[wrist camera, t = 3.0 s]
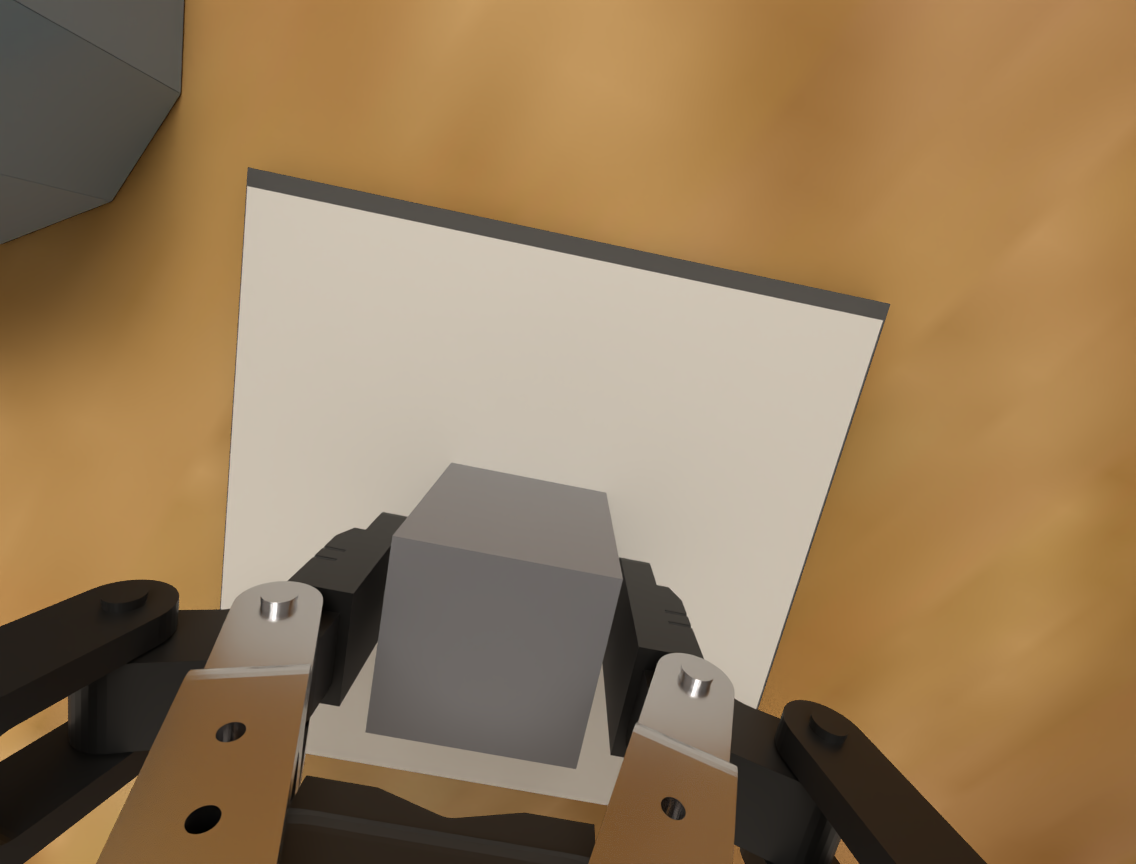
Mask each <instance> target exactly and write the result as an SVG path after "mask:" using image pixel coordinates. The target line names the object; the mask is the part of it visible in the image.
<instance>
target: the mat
mask: <svg viewBox="0 0 1136 864" xmlns="http://www.w3.org/2000/svg"><path fill="white" fill-rule="evenodd" d="M247 186H249V187H254V188H259V189H263V190H268V191H273V192H278V193H282V194H287V195H292V196H296V197H301V198H306V199H311V200H315V201H320V202H325V203H330V204H334V205H339V206H344V207H349V208H353V209H358V210H363V211H367V212H372V213H377V214H382V215H386V216H391V217H396V218H401V219H405V220H410V221H415V222H420V223H424V224H429V225H434V226H438V227H443V228H448V229H453V230H457V231H462V232H467V233H472V234H476V235H481V236H486V237H491V238H495V239H500V240H505V241H509V242H514V243H519V244H524V245H528V246H533V247H538V248H543V249H547V250H552V251H557V252H561V253H566V254H571V255H576V256H580V257H585V258H590V259H595V260H599V261H604V262H609V263H614V264H618V265H623V266H628V267H632V268H637V269H642V270H647V271H651V272H656V273H661V274H666V275H670V276H675V277H680V278H685V279H689V280H694V281H699V282H703V283H708V284H713V285H718V286H722V287H727V288H732V289H737V290H741V291H746V292H751V293H756V294H760V295H765V296H770V297H774V298H779V299H784V300H789V301H793V302H798V303H803V304H808V305H812V306H817V307H822V308H827V309H831V310H836V311H841V312H845V313H850V314H855V315H860V316H864V317H869V318H874V319H879V320H883V322H882V325H881V328H880V331H879V334H878V337H877V341H876V344H875V347H874V350H873V353H872V356H871V359H870V362H869V365H868V368H867V371H866V374H865V377H864V380H863V383H862V386H861V390H860V393H859V396H858V399H857V402H856V405H855V408H854V411H853V414H852V417H851V420H850V423H849V426H848V429H847V432H846V435H845V439H844V442H843V445H842V448H841V451H840V454H839V457H838V460H837V463H836V466H835V469H834V472H833V475H832V478H831V481H830V484H829V488H828V491H827V494H826V497H825V500H824V503H823V506H822V509H821V512H820V515H819V518H818V521H817V524H816V527H815V530H814V533H813V537H812V540H811V543H810V546H809V549H808V552H807V555H806V558H805V561H804V564H803V567H802V570H801V573H800V576H799V579H798V582H797V586H796V589H795V592H794V595H793V598H792V601H791V604H790V607H789V610H788V613H787V616H786V619H785V622H784V625H783V628H782V631H781V635H780V638H779V641H778V644H777V647H776V650H775V653H774V656H773V659H772V662H771V665H770V668H769V671H768V674H767V677H766V680H765V684H764V687H763V690H762V693H761V696H760V699H759V702H758V705H757V708H756V709H757V710H758V707H759V704H760V701H761V698H762V695H763V692H764V689H765V686H766V682H767V679H768V676H769V673H770V670H771V667H772V664H773V661H774V658H775V655H776V652H777V649H778V646H779V643H780V640H781V637H782V634H783V631H784V627H785V624H786V621H787V618H788V615H789V612H790V609H791V606H792V603H793V600H794V597H795V594H796V591H797V588H798V585H799V582H800V579H801V576H802V572H803V569H804V566H805V563H806V560H807V557H808V554H809V551H810V548H811V545H812V542H813V539H814V536H815V533H816V530H817V527H818V524H819V521H820V517H821V514H822V511H823V508H824V505H825V502H826V499H827V496H828V493H829V490H830V487H831V484H832V481H833V478H834V475H835V472H836V469H837V466H838V462H839V459H840V456H841V453H842V450H843V447H844V444H845V441H846V438H847V435H848V432H849V429H850V426H851V423H852V420H853V417H854V414H855V411H856V407H857V404H858V401H859V398H860V395H861V392H862V389H863V386H864V383H865V380H866V377H867V374H868V371H869V368H870V365H871V362H872V359H873V356H874V352H875V349H876V346H877V343H878V340H879V337H880V334H881V331H882V328H883V325H884V322H885V319H886V316H887V313H888V310H889V307H890V304H888V303H883V302H879V301H874V300H869V299H865V298H860V297H855V296H850V295H846V294H841V293H836V292H832V291H827V290H822V289H818V288H813V287H808V286H803V285H799V284H794V283H789V282H785V281H780V280H775V279H770V278H766V277H761V276H756V275H752V274H747V273H742V272H738V271H733V270H728V269H723V268H719V267H714V266H709V265H705V264H700V263H695V262H691V261H686V260H681V259H676V258H672V257H667V256H662V255H658V254H653V253H648V252H643V251H639V250H634V249H629V248H625V247H620V246H615V245H611V244H606V243H601V242H596V241H592V240H587V239H582V238H578V237H573V236H568V235H564V234H559V233H554V232H549V231H545V230H540V229H535V228H531V227H526V226H521V225H516V224H512V223H507V222H502V221H498V220H493V219H488V218H484V217H479V216H474V215H469V214H465V213H460V212H455V211H451V210H446V209H441V208H437V207H432V206H427V205H422V204H418V203H413V202H408V201H404V200H399V199H394V198H389V197H385V196H380V195H375V194H371V193H366V192H361V191H357V190H352V189H347V188H342V187H338V186H333V185H328V184H324V183H319V182H314V181H310V180H305V179H300V178H295V177H291V176H286V175H281V174H277V173H272V172H267V171H263V170H258V169H253V168H248V172H247ZM246 200H247V188H246ZM245 216H246V204H245ZM244 232H245V220H244ZM243 247H244V236H243ZM242 263H243V252H242ZM241 279H242V268H241ZM240 295H241V284H240ZM239 311H240V300H239ZM238 327H239V316H238ZM237 343H238V331H237ZM236 358H237V347H236ZM235 374H236V363H235ZM234 390H235V379H234ZM233 406H234V395H233ZM232 422H233V411H232ZM231 438H232V427H231ZM230 454H231V443H230ZM229 470H230V459H229ZM228 485H229V475H228ZM227 501H228V491H227ZM226 517H227V507H226ZM225 533H226V523H225ZM224 549H225V539H224ZM223 565H224V555H223ZM222 581H223V571H222ZM221 596H222V587H221ZM220 609H221V602H220Z"/></svg>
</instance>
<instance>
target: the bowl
mask: <svg viewBox="0 0 1136 864" xmlns="http://www.w3.org/2000/svg"><path fill="white" fill-rule="evenodd" d="M183 15H184V0H0V244H3V243H5V242H8V241H10V240H13V239H16V238H18V237H21V236H23V235H26V234H28V233H31V232H34V231H36V230H39V229H41V228H44V227H46V226H49V225H52V224H54V223H57V222H59V221H62V220H64V219H67V218H70V217H72V216H75V215H77V214H80V213H83V212H85V211H88V210H90V209H93V208H95V207H98V206H101V205H103V204H106V203H108V202H111V201H112V200H113V198H114V197H115V195H116V194H117V192H118V191H119V189H120V187H121V186H122V184H123V183H124V181H125V180H126V178H127V177H128V175H129V173H130V172H131V170H132V169H133V167H134V166H135V164H136V163H137V161H138V159H139V158H140V156H141V155H142V153H143V152H144V150H145V148H146V147H147V145H148V144H149V142H150V141H151V139H152V138H153V136H154V134H155V133H156V131H157V130H158V128H159V127H160V125H161V124H162V122H163V120H164V119H165V117H166V116H167V114H168V113H169V111H170V109H171V108H172V106H173V105H174V103H175V102H176V100H177V99H178V97H179V95H180V93H181V71H182V43H183Z"/></svg>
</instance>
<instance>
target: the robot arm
mask: <svg viewBox="0 0 1136 864" xmlns="http://www.w3.org/2000/svg"><path fill="white" fill-rule="evenodd" d="M406 518H407V516H402V515H397V514H391V513H386V512H382V513H381V514H380V515H379V516H378V517H377V518H376V519H375V520H374V521H373V522H372V523H371V524H370V525H369V527H368V528H367V529H366V530H365V529H360V528H352V529H350V530H347V531H345V532H342V533H340V534H337V535H336V536H334V537H333V538H332V539H331V540H330V541H329V542H328V543H327V544H326V545H325V546H324V548H322V549H321V550H320V551H319V552H318V553H316V554H315V557H312V558H311V559H310V560H309V561H308V562H307V563H306V564H305V565H304V566H303V567H302V568H301V569H299V570H298V571H297V572H296V573H295V574H294V575H293V576H292V577H291V578H290V579H289V580H288V581H277V582H269V583H264V584H261V585H257V586H254V587H252V588H249V589H248V590H246V591H244V592H242V593H241V594H240V595H238V596H237V597H236V599H235V600H234V602H233V604H232V606H231V608H230V609H220V610H178V609H179V593H178V591H177V589H176V588H174V587H173V586H172V585H169V584H167V583H164V582H160V581H155V580H127V581H120V582H115V583H110V584H106V585H103V586H99V587H97V588H94V589H91V590H89V591H86V592H84V593H81V594H79V595H76V596H74V597H72V598H69V599H67V600H64V601H62V602H59V603H57V604H54V605H52V606H49V607H47V608H45V609H42V610H40V611H37V612H35V613H32V614H30V615H27V616H25V617H23V618H20V619H18V620H15V621H13V622H10V623H8V624H5V625H3V626H1V627H0V736H1V735H2V734H4V733H5V732H7V731H8V730H9V729H11V728H13V727H14V726H16V725H18V724H19V723H21V722H23V721H25V720H27V719H28V718H30V717H32V716H34V715H35V714H37V713H39V712H41V711H43V710H44V709H46V708H48V707H50V706H51V705H53V704H55V703H57V702H59V701H60V700H62V699H64V698H66V697H67V696H68V721H67V722H66V723H64V724H62V725H61V726H59V727H57V728H56V729H54V730H52V731H51V732H49V733H47V734H46V735H44V736H42V737H41V738H39V739H37V740H36V741H34V742H32V743H31V744H29V745H28V746H26V747H24V748H23V749H21V750H19V751H18V752H16V753H14V754H13V755H11V756H9V757H8V758H6V759H4V760H3V761H1V762H0V864H23V863H25V862H26V861H27V860H29V859H30V858H31V857H33V856H34V855H35V854H36V853H38V852H39V851H40V850H42V849H43V848H44V847H45V846H47V845H48V844H49V843H51V842H52V841H53V840H55V839H56V838H57V837H58V836H60V835H61V834H62V833H64V832H65V831H66V830H68V829H69V828H70V827H71V826H73V825H74V824H75V823H77V822H78V821H79V820H80V819H82V818H83V817H84V816H86V815H87V814H88V813H90V812H91V811H92V810H93V809H95V808H96V807H97V806H99V805H100V804H101V803H103V802H104V801H105V800H106V799H108V798H109V797H110V796H112V795H113V794H114V793H115V792H117V791H118V790H119V789H121V788H122V787H123V786H125V785H126V784H127V783H128V782H130V781H131V780H132V779H134V778H135V777H136V776H137V775H138V777H137V779H136V781H135V783H134V785H133V787H132V789H131V791H130V793H129V796H128V798H127V800H126V802H125V804H124V806H123V808H122V810H121V812H120V814H119V817H118V819H117V821H116V823H115V825H114V827H113V829H112V831H111V833H110V835H109V838H108V840H107V842H106V844H105V846H104V848H103V850H102V852H101V854H100V857H99V859H98V861H97V863H96V864H733V854H734V845H737V846H739V847H740V852H741V855H742V858H743V860H744V863H745V864H840V863H839V862H838V860H837V859H836V857H835V856H834V855H835V852H836V850H837V847H838V845H839V842H840V840H841V839H842V840H843V842H844V843H845V844H846V846H847V847H848V849H849V850H850V851H851V853H852V854H853V855H854V857H855V858H856V860H857V861H858V862H859V864H987V863H986V862H985V861H984V860H983V859H982V858H981V857H980V856H979V855H978V854H977V853H976V852H975V851H974V850H973V848H972V847H971V846H970V845H969V844H968V843H967V842H966V841H965V840H964V839H963V838H962V837H961V836H960V835H959V834H958V833H957V832H956V831H955V829H954V828H953V827H952V826H951V825H950V824H949V823H948V822H947V821H946V820H945V819H944V818H943V817H942V816H941V815H940V814H939V813H938V812H937V811H936V809H935V808H934V807H933V806H932V805H931V804H930V803H929V802H928V801H927V800H926V799H925V798H924V797H923V796H922V795H921V794H920V793H919V792H918V790H917V789H916V788H915V787H914V786H913V785H912V784H911V783H910V782H909V781H908V780H907V779H906V778H905V777H904V776H903V775H902V774H901V773H900V771H899V770H898V769H897V768H896V767H895V766H894V765H893V764H892V763H891V762H890V761H889V760H888V759H887V758H886V757H885V756H884V755H883V754H882V753H881V751H880V750H879V749H878V748H877V747H876V746H875V745H874V744H873V743H872V742H871V741H870V740H869V739H868V738H867V737H866V736H865V735H864V734H863V732H862V731H861V730H860V729H859V728H858V727H857V726H855V725H854V724H853V723H852V722H851V721H849V720H848V719H847V718H845V717H844V716H843V715H841V714H839V713H838V712H836V711H834V710H832V709H830V708H828V707H826V706H824V705H821V704H818V703H815V702H811V701H806V700H795V701H791V702H789V703H788V704H786V706H785V707H784V710H783V713H782V716H781V719H779V718H777V717H774V716H772V715H769V714H767V713H764V712H762V711H760V710H757V709H755V708H752V707H750V706H748V705H745V704H743V703H742V702H740V701H738V700H736V699H735V698H734V696H735V692H734V687H733V684H732V682H731V681H730V679H729V678H728V677H727V675H726V674H725V673H724V672H723V671H722V670H720V669H719V668H718V667H716V666H715V665H713V664H712V663H710V662H708V661H707V660H704V658H703V655H702V652H701V650H700V647H699V644H698V642H697V639H696V637H695V634H694V631H693V629H692V628H691V624H690V621H689V618H688V617H687V613H686V611H685V608H684V605H683V603H682V600H681V599H680V598H679V597H678V596H677V595H676V594H675V593H674V592H673V591H672V590H671V589H670V588H669V587H665V586H660V585H657V584H656V581H655V578H654V575H653V571H652V568H651V565H650V563H647V562H642V561H637V560H631V559H626V558H621V557H619V562H620V567H621V572H622V577H623V581H622V585H621V589H620V593H619V597H618V601H617V605H616V609H615V614H614V618H613V622H612V626H611V630H610V634H609V638H608V642H607V646H606V650H605V654H604V658H603V662H602V664H603V676H604V687H605V698H606V710H607V721H608V732H609V744H610V755H612V756H618V757H624V759H623V762H622V765H621V768H620V771H619V774H618V777H617V780H616V783H615V786H614V789H613V792H612V795H611V798H610V801H609V804H608V807H607V810H606V813H605V816H604V819H603V822H602V825H601V828H600V831H599V834H598V836H597V839H596V842H595V830H594V824H588V823H582V822H576V821H570V820H564V819H558V818H553V817H547V816H541V815H535V814H529V813H515V814H502V815H490V816H477V817H464V818H446V817H443V816H440V815H438V814H435V813H433V812H431V811H429V810H426V809H424V808H422V807H420V806H418V805H415V804H413V803H411V802H409V801H406V800H404V799H402V798H400V797H398V796H395V795H393V794H391V793H389V792H386V791H384V790H382V789H380V788H377V787H371V786H365V785H359V784H353V783H347V782H341V781H336V780H330V779H324V778H318V777H312V776H306V777H305V779H304V780H303V782H302V784H301V780H302V773H303V767H304V760H305V753H306V747H307V740H308V733H309V725H310V717H311V716H312V714H313V713H314V711H315V710H316V708H317V707H318V705H319V704H320V703H322V704H327V705H333V706H340V705H341V703H342V701H343V700H344V698H345V696H346V695H347V693H348V691H349V690H350V688H351V686H352V684H353V683H354V681H355V679H356V678H357V676H358V674H359V673H360V671H361V669H362V667H363V666H364V664H365V662H366V661H367V659H368V657H369V656H370V654H371V652H372V651H373V649H374V647H375V645H376V644H377V642H378V637H379V629H380V622H381V615H382V608H383V600H384V593H385V586H386V579H387V571H388V564H389V557H390V550H391V542H392V536H393V534H394V533H395V532H396V531H397V529H398V528H399V527H400V526H401V525H402V523H403V522H404V521H405V520H406Z"/></svg>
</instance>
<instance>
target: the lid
mask: <svg viewBox="0 0 1136 864" xmlns="http://www.w3.org/2000/svg"><path fill="white" fill-rule="evenodd" d="M882 322H883V320H879V319H874V318H869V317H864V316H860V315H855V314H850V313H845V312H841V311H836V310H831V309H827V308H822V307H817V306H812V305H808V304H803V303H798V302H793V301H789V300H784V299H779V298H774V297H770V296H765V295H760V294H756V293H751V292H746V291H741V290H737V289H732V288H727V287H722V286H718V285H713V284H708V283H703V282H699V281H694V280H689V279H685V278H680V277H675V276H670V275H666V274H661V273H656V272H651V271H647V270H642V269H637V268H632V267H628V266H623V265H618V264H614V263H609V262H604V261H599V260H595V259H590V258H585V257H580V256H576V255H571V254H566V253H561V252H557V251H552V250H547V249H543V248H538V247H533V246H528V245H524V244H519V243H514V242H509V241H505V240H500V239H495V238H491V237H486V236H481V235H476V234H472V233H467V232H462V231H457V230H453V229H448V228H443V227H438V226H434V225H429V224H424V223H420V222H415V221H410V220H405V219H401V218H396V217H391V216H386V215H382V214H377V213H372V212H367V211H363V210H358V209H353V208H349V207H344V206H339V205H334V204H330V203H325V202H320V201H315V200H311V199H306V198H301V197H296V196H292V195H287V194H282V193H278V192H273V191H268V190H263V189H259V188H254V187H249V186H247V200H246V216H245V232H244V247H243V263H242V279H241V295H240V311H239V327H238V343H237V358H236V374H235V390H234V406H233V422H232V438H231V454H230V470H229V485H228V501H227V517H226V533H225V549H224V565H223V581H222V596H221V609H230V608H231V606H232V604H233V602H234V600H235V599H236V597H237V596H238V595H240V594H241V593H242V592H244V591H246V590H248V589H249V588H252V587H254V586H257V585H261V584H264V583H269V582H277V581H288V580H289V579H290V578H291V577H292V576H293V575H294V574H295V573H296V572H297V571H298V570H299V569H301V568H302V567H303V566H304V565H305V564H306V563H307V562H308V561H309V560H310V559H311V558H312V557H315V554H316V553H318V552H319V551H320V550H321V549H322V548H324V546H325V545H326V544H327V543H328V542H329V541H330V540H331V539H332V538H333V537H334V536H336V535H337V534H340V533H342V532H345V531H347V530H350V529H352V528H360V529H365V530H366V529H367V528H368V527H369V525H370V524H371V523H372V522H373V521H374V520H375V519H376V518H377V517H378V516H379V515H380V514H381V513H382V512H386V513H391V514H397V515H402V516H407V518H406V520H405V521H404V522H403V523H402V525H401V526H400V527H399V528H398V529H397V531H396V532H395V533H394V534H393V536H392V542H391V550H390V557H389V564H388V571H387V579H386V586H385V593H384V600H383V608H382V615H381V622H380V629H379V637H378V642H377V644H376V645H375V647H374V649H373V651H372V652H371V654H370V656H369V657H368V659H367V661H366V662H365V664H364V666H363V667H362V669H361V671H360V673H359V674H358V676H357V678H356V679H355V681H354V683H353V684H352V686H351V688H350V690H349V691H348V693H347V695H346V696H345V698H344V700H343V701H342V703H341V705H340V706H333V705H327V704H322V703H320V704H319V705H318V707H317V708H316V710H315V711H314V713H313V714H312V716H311V717H310V725H309V733H308V740H307V747H306V754H312V755H317V756H323V757H329V758H335V759H341V760H347V761H352V762H358V763H364V764H370V765H376V766H381V767H387V768H393V769H399V770H405V771H410V772H416V773H422V774H428V775H434V776H440V777H445V778H451V779H457V780H463V781H469V782H474V783H480V784H486V785H492V786H498V787H503V788H509V789H515V790H521V791H527V792H532V793H538V794H544V795H550V796H556V797H562V798H567V799H573V800H579V801H585V802H591V803H596V804H602V805H608V804H609V801H610V798H611V795H612V792H613V789H614V786H615V783H616V780H617V777H618V774H619V771H620V768H621V765H622V762H623V759H624V757H618V756H612V755H610V744H609V732H608V721H607V710H606V698H605V687H604V676H603V664H602V662H603V658H604V654H605V650H606V646H607V642H608V638H609V634H610V630H611V626H612V622H613V618H614V614H615V609H616V605H617V601H618V597H619V593H620V589H621V585H622V581H623V577H622V572H621V567H620V562H619V557H621V558H626V559H631V560H637V561H642V562H647V563H650V565H651V568H652V571H653V575H654V578H655V581H656V584H657V585H660V586H665V587H669V588H670V589H671V590H672V591H673V592H674V593H675V594H676V595H677V596H678V597H679V598H680V599H681V600H682V603H683V605H684V608H685V611H686V613H687V617H688V618H689V621H690V624H691V628H692V629H693V631H694V634H695V637H696V639H697V642H698V644H699V647H700V650H701V652H702V655H703V658H704V660H707V661H708V662H710V663H712V664H713V665H715V666H716V667H718V668H719V669H720V670H722V671H723V672H724V673H725V674H726V675H727V677H728V678H729V679H730V681H731V682H732V684H733V687H734V692H735V696H734V698H735V699H736V700H738V701H740V702H742V703H743V704H745V705H748V706H750V707H752V708H755V709H756V708H757V705H758V702H759V699H760V696H761V693H762V690H763V687H764V684H765V680H766V677H767V674H768V671H769V668H770V665H771V662H772V659H773V656H774V653H775V650H776V647H777V644H778V641H779V638H780V635H781V631H782V628H783V625H784V622H785V619H786V616H787V613H788V610H789V607H790V604H791V601H792V598H793V595H794V592H795V589H796V586H797V582H798V579H799V576H800V573H801V570H802V567H803V564H804V561H805V558H806V555H807V552H808V549H809V546H810V543H811V540H812V537H813V533H814V530H815V527H816V524H817V521H818V518H819V515H820V512H821V509H822V506H823V503H824V500H825V497H826V494H827V491H828V488H829V484H830V481H831V478H832V475H833V472H834V469H835V466H836V463H837V460H838V457H839V454H840V451H841V448H842V445H843V442H844V439H845V435H846V432H847V429H848V426H849V423H850V420H851V417H852V414H853V411H854V408H855V405H856V402H857V399H858V396H859V393H860V390H861V386H862V383H863V380H864V377H865V374H866V371H867V368H868V365H869V362H870V359H871V356H872V353H873V350H874V347H875V344H876V341H877V337H878V334H879V331H880V328H881V325H882Z"/></svg>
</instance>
